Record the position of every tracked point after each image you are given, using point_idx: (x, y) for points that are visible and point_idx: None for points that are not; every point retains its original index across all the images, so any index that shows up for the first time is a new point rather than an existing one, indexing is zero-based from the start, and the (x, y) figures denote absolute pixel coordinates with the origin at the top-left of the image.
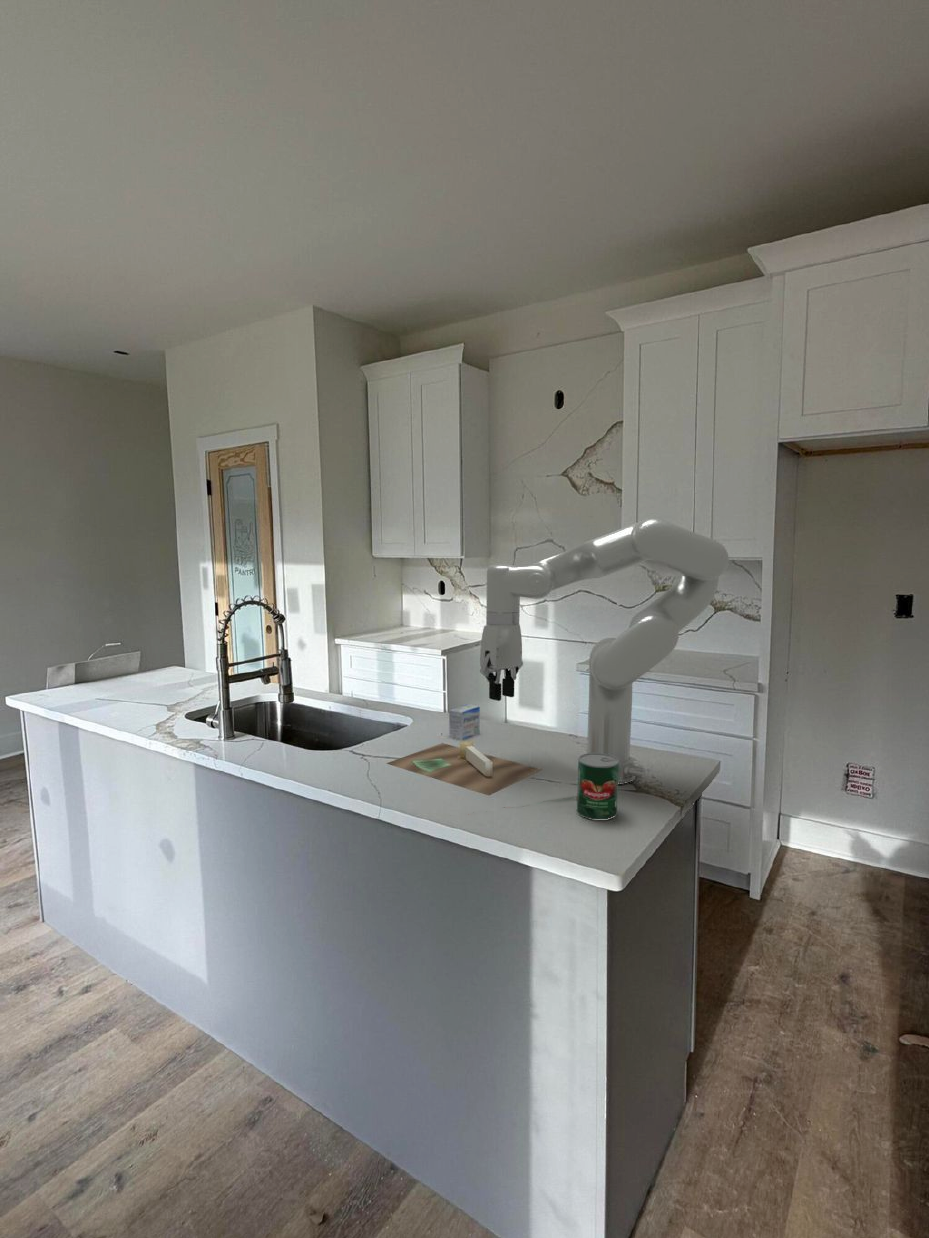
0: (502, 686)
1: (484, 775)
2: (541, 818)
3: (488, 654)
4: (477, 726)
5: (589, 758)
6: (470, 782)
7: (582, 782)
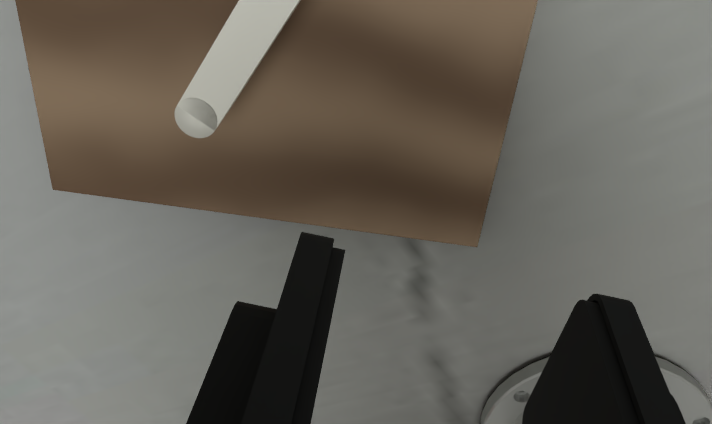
0: (615, 398)
1: None
2: (94, 364)
3: None
4: None
5: None
6: (97, 43)
7: None
